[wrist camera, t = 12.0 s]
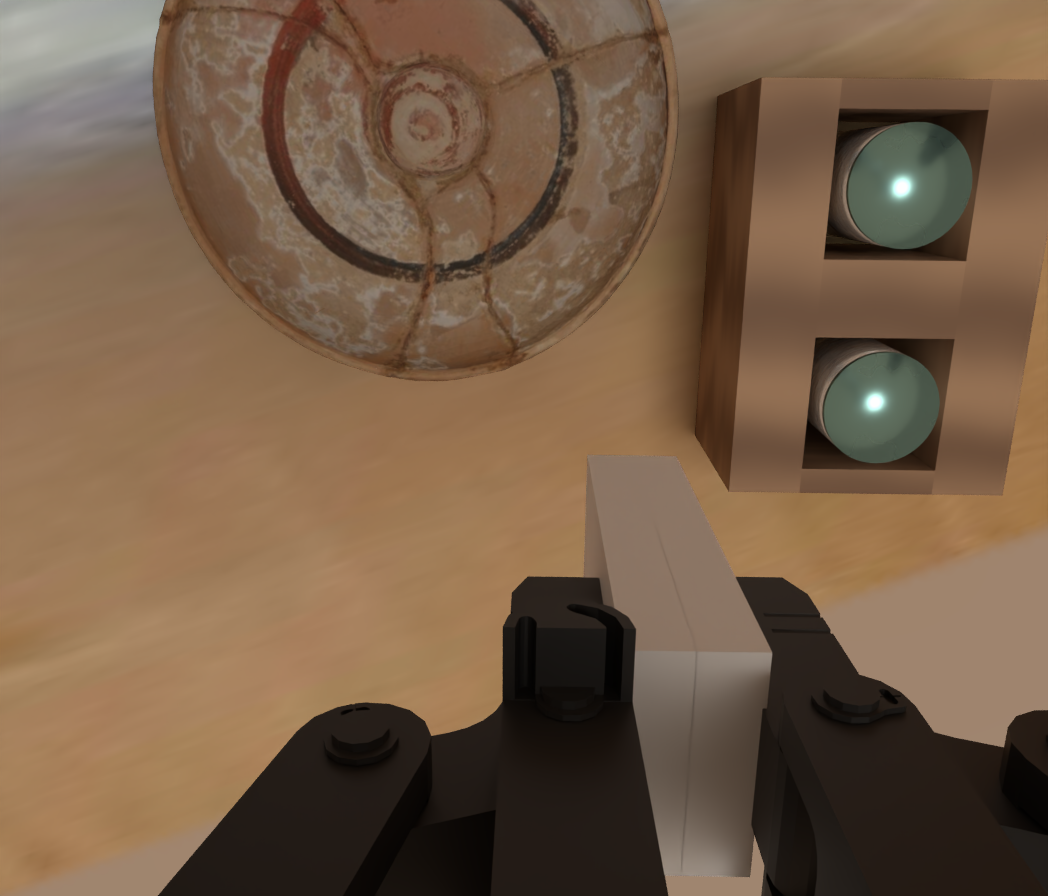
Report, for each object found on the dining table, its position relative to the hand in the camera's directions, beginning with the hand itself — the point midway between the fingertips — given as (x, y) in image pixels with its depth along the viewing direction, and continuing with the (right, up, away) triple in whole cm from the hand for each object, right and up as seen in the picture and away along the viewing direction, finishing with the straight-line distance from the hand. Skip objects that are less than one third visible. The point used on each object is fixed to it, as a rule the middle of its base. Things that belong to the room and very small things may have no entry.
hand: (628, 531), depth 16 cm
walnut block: (+13, +10, +31) cm, 35 cm away
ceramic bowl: (-6, +17, +29) cm, 34 cm away
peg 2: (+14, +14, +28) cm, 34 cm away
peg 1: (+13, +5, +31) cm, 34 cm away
